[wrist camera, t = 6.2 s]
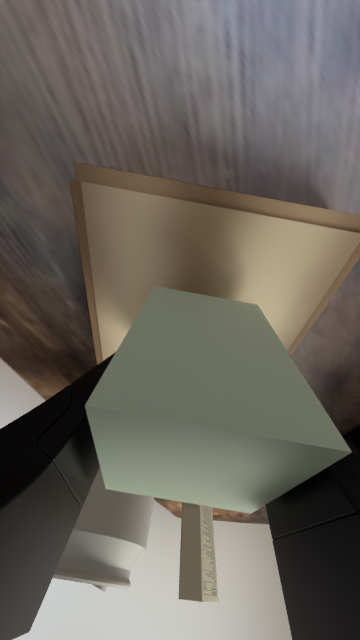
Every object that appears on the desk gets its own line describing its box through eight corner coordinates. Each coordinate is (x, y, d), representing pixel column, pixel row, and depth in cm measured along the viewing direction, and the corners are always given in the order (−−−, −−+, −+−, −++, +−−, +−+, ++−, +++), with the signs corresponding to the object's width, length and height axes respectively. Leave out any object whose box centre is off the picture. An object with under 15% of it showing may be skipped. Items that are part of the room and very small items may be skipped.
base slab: (339, 217, 9) (390, 220, 7) (249, 375, 17) (258, 405, 14) (99, 173, 9) (63, 159, 7) (113, 352, 16) (97, 377, 14)
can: (102, 374, 18) (-14, 574, 8) (172, 386, 18) (141, 599, 8) (107, 412, 22) (32, 578, 12) (164, 422, 23) (136, 595, 12)
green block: (257, 304, 8) (352, 452, 3) (226, 373, 11) (250, 513, 6) (154, 285, 8) (85, 405, 3) (148, 360, 11) (105, 488, 6)
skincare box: (182, 492, 37) (176, 598, 27) (200, 490, 36) (201, 603, 26) (195, 501, 40) (195, 601, 30) (213, 500, 38) (219, 605, 28)
